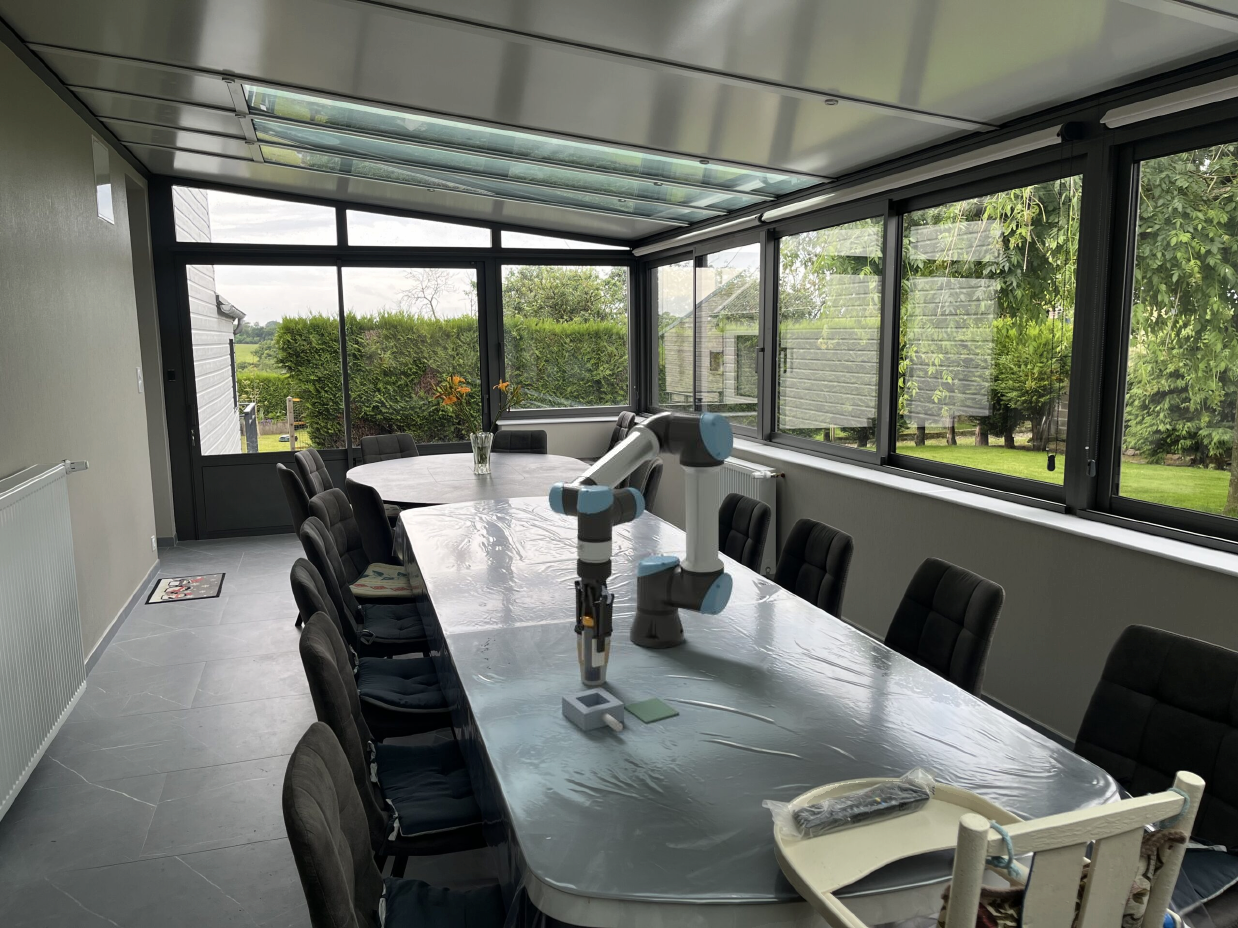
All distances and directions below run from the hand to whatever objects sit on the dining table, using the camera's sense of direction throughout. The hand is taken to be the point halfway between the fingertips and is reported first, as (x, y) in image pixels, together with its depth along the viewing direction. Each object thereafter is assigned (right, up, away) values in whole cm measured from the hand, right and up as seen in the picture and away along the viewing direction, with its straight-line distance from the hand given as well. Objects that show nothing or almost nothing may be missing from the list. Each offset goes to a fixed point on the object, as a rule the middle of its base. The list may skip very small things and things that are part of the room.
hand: (592, 661), depth 183 cm
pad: (+13, -12, +6) cm, 19 cm away
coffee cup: (-1, -10, +22) cm, 24 cm away
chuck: (+1, -13, 0) cm, 13 cm away
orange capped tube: (0, -4, +1) cm, 4 cm away
